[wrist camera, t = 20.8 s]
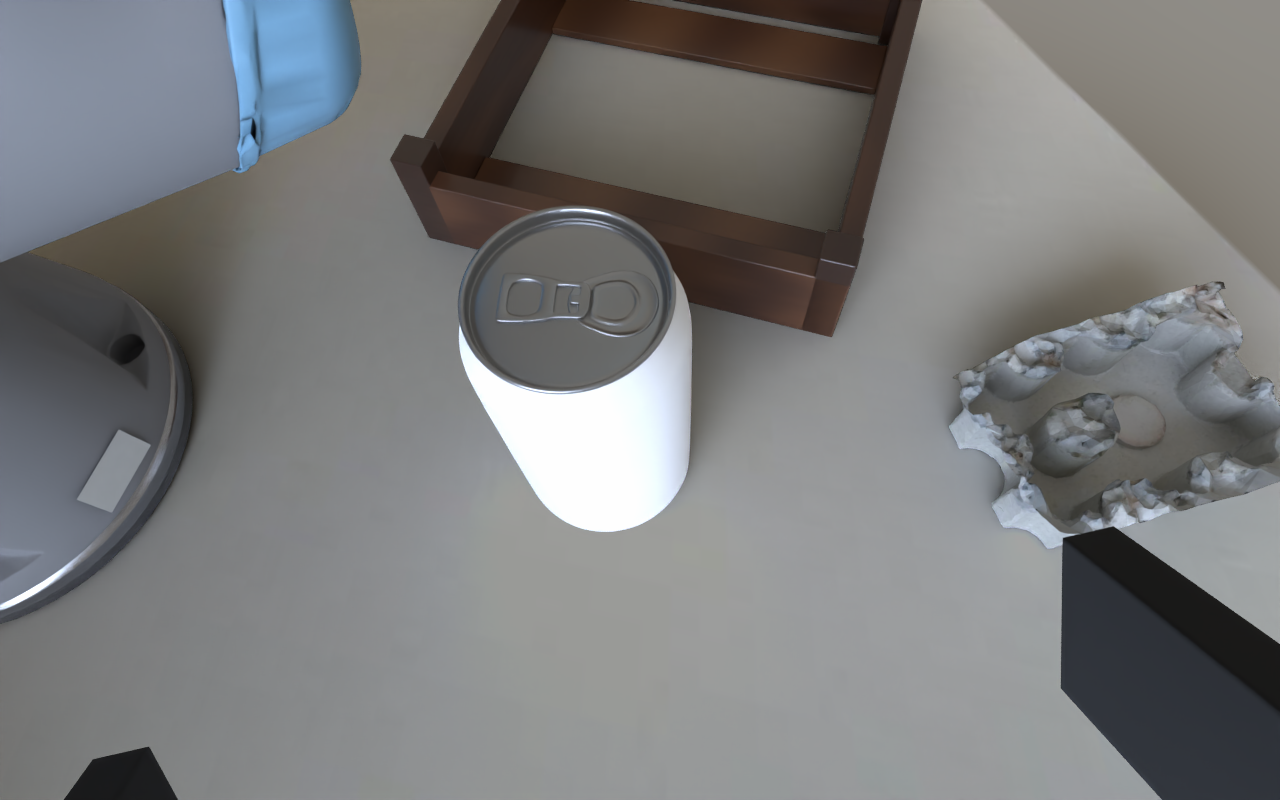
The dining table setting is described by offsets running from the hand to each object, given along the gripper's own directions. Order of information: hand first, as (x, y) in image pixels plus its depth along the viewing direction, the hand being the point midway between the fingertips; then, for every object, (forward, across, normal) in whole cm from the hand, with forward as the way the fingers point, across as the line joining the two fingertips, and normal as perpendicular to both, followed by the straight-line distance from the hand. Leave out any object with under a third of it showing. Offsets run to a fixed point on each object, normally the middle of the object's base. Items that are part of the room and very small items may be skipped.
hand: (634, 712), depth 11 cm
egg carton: (+16, +19, -7) cm, 26 cm away
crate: (+30, +7, +7) cm, 32 cm away
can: (+19, 0, -5) cm, 20 cm away
